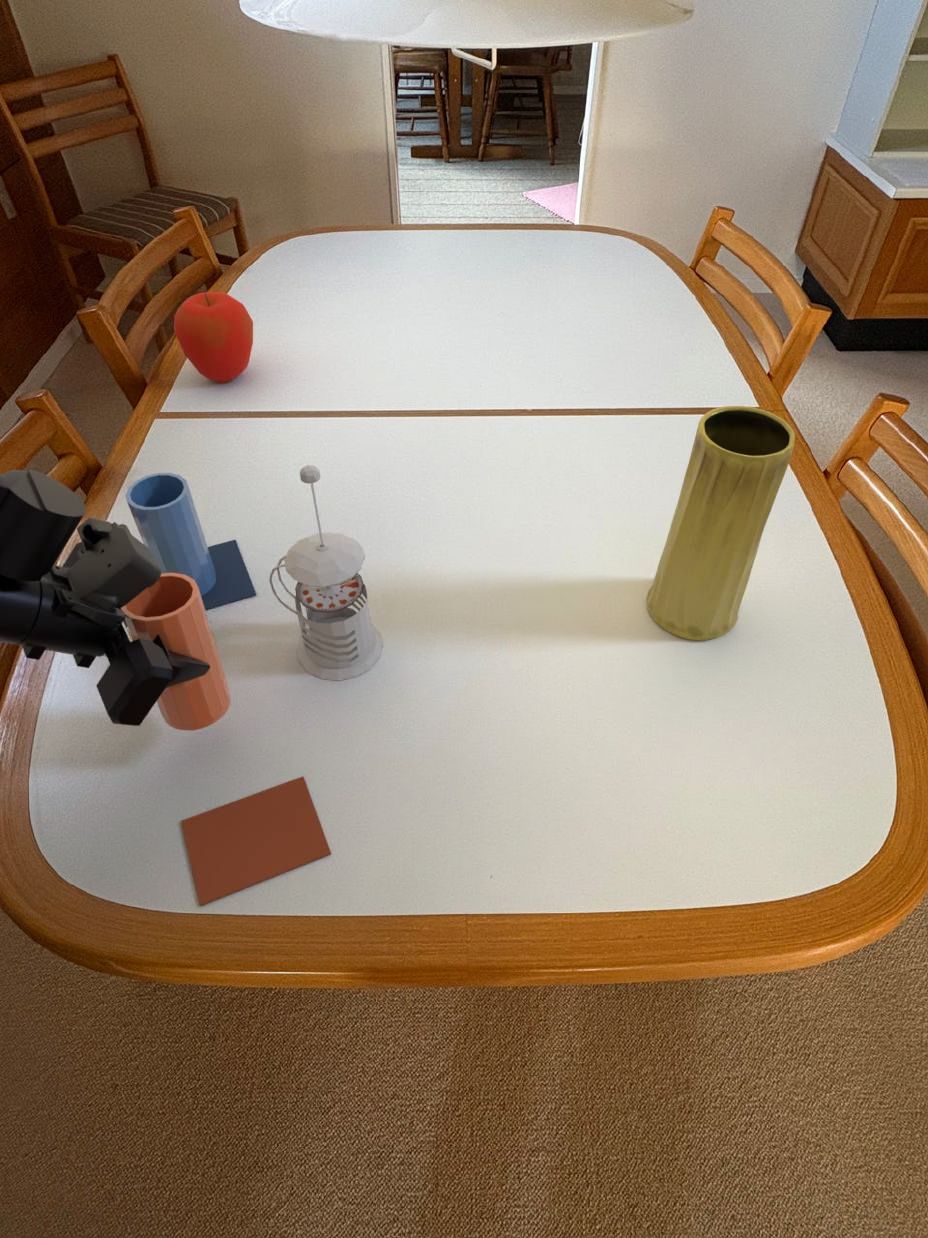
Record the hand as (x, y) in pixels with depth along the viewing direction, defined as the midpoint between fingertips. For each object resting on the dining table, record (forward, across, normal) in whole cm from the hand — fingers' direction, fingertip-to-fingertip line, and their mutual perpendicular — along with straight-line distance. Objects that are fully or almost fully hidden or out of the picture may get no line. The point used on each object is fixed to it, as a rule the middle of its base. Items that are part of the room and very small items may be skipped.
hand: (194, 645), depth 73 cm
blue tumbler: (+12, +22, +6) cm, 26 cm away
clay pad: (+7, -14, +10) cm, 19 cm away
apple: (+27, +67, -10) cm, 73 cm away
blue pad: (+12, +22, +6) cm, 26 cm away
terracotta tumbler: (+4, -1, +6) cm, 8 cm away
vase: (+46, -14, -29) cm, 57 cm away
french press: (+19, +4, -1) cm, 20 cm away
